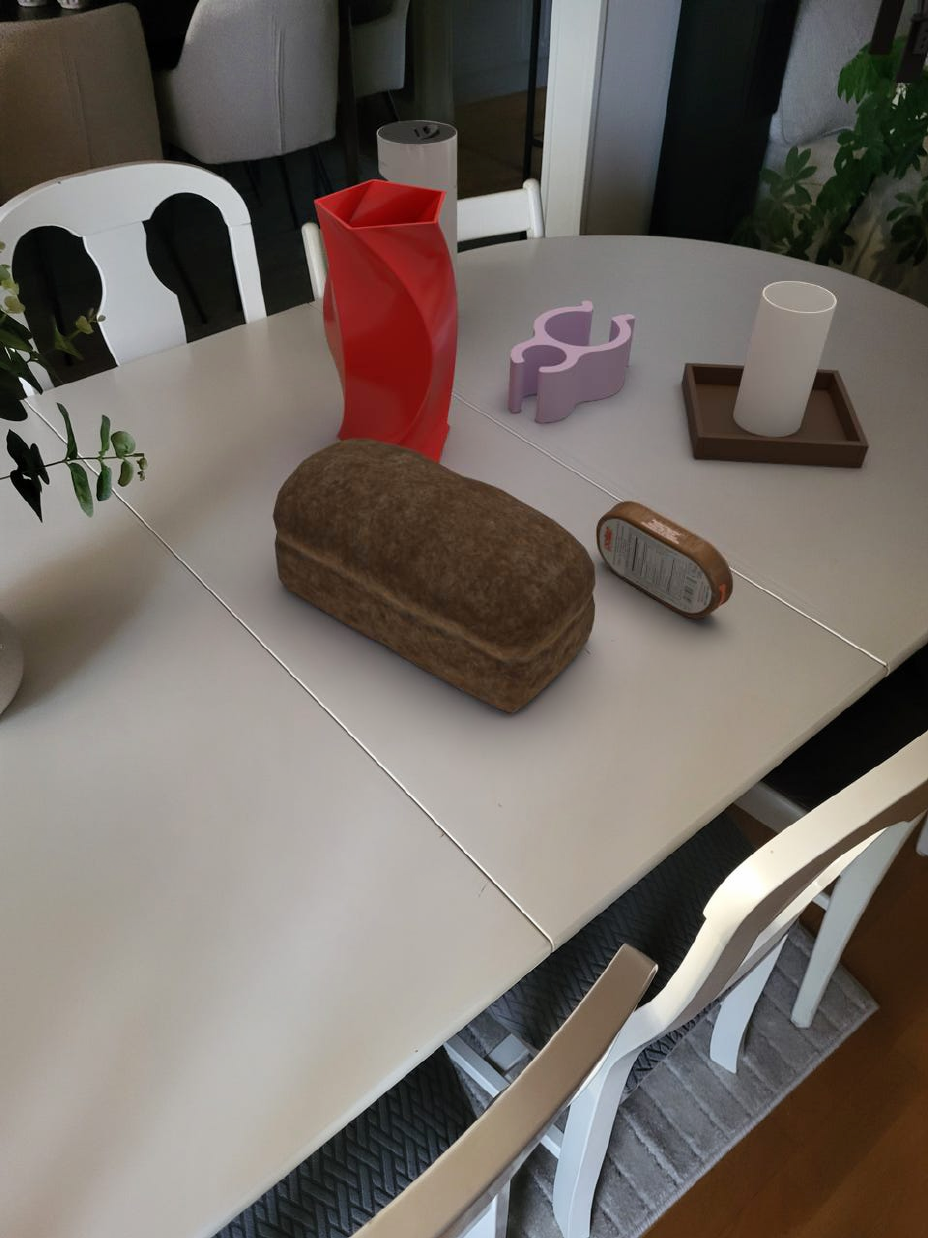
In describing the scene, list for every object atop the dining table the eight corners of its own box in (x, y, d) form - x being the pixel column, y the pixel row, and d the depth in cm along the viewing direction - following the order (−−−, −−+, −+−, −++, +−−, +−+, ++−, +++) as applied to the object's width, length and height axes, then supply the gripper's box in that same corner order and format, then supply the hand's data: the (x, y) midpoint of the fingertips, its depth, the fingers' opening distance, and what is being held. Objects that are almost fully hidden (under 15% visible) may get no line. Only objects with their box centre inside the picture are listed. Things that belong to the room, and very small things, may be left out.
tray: (831, 391, 124) (838, 370, 122) (861, 468, 111) (869, 445, 109) (681, 383, 125) (685, 362, 123) (693, 458, 112) (698, 436, 110)
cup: (729, 430, 115) (759, 306, 104) (736, 397, 121) (765, 276, 110) (798, 442, 114) (836, 317, 103) (802, 408, 119) (837, 286, 108)
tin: (725, 621, 92) (744, 554, 86) (706, 636, 90) (724, 570, 85) (605, 549, 100) (615, 484, 94) (586, 563, 98) (595, 497, 92)
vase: (476, 436, 115) (481, 200, 96) (406, 493, 107) (395, 247, 87) (379, 398, 121) (365, 170, 102) (305, 450, 113) (274, 211, 93)
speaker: (390, 304, 141) (381, 113, 123) (459, 305, 141) (460, 115, 123) (383, 337, 133) (372, 139, 115) (456, 339, 133) (457, 141, 115)
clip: (567, 433, 116) (572, 383, 111) (484, 401, 121) (485, 351, 116) (644, 368, 128) (652, 320, 123) (566, 342, 133) (570, 294, 128)
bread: (359, 514, 104) (348, 386, 93) (609, 641, 90) (630, 507, 79) (262, 584, 95) (237, 452, 84) (521, 735, 81) (532, 600, 70)
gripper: (889, -156, 115) (840, 42, 130) (952, -134, 97) (887, 94, 112) (951, -156, 115) (895, 44, 130) (1026, -133, 97) (951, 96, 112)
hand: (891, 67), depth 121 cm, fingers open, 13 cm apart
